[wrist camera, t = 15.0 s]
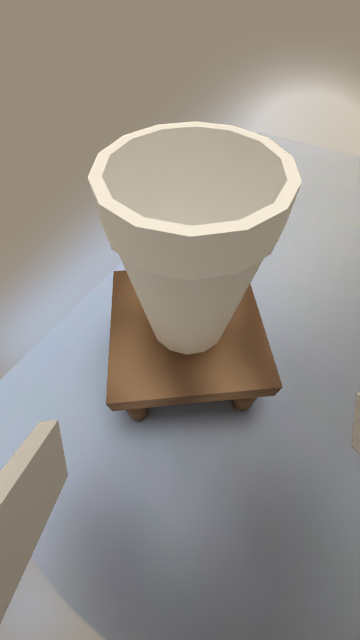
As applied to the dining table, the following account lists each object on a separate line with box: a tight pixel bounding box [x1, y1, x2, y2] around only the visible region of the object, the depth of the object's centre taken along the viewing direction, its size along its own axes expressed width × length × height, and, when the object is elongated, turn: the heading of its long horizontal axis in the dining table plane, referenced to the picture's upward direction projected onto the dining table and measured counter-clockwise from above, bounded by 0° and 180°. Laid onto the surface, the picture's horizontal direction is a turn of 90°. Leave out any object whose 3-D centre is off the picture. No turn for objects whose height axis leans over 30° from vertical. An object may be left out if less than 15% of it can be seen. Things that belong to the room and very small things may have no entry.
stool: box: [106, 271, 282, 421], centre depth 26 cm, size 13×13×8 cm
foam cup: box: [88, 122, 302, 355], centre depth 18 cm, size 10×9×13 cm
